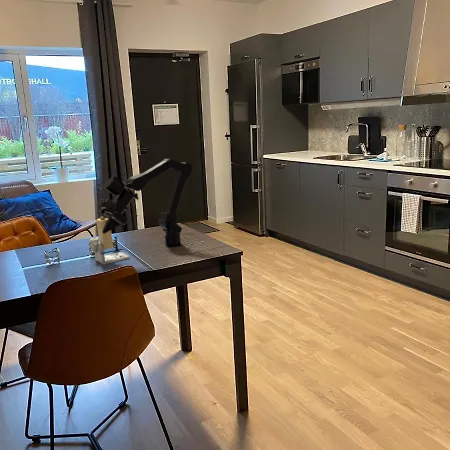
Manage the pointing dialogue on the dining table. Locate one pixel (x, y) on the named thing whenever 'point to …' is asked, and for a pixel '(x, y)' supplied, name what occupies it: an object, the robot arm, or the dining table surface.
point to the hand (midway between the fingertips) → (101, 232)
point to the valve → (96, 240)
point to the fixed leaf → (108, 258)
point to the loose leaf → (104, 238)
